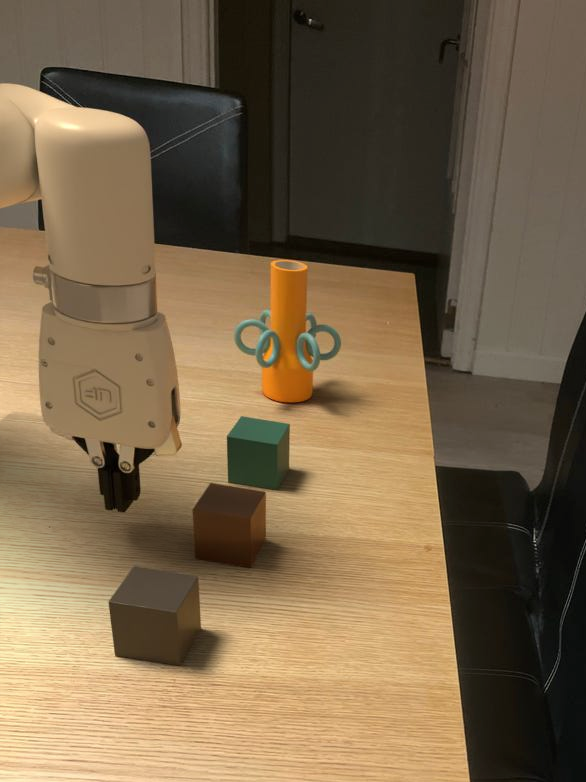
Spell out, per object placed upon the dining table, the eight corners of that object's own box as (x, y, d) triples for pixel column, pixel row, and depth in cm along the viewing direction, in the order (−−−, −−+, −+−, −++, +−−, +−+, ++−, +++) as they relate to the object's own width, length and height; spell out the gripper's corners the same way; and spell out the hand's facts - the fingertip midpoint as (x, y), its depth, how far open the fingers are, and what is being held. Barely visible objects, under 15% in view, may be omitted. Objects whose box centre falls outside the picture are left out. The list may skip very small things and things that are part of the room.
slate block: (180, 666, 71) (176, 612, 68) (114, 655, 71) (108, 601, 68) (201, 627, 75) (198, 575, 72) (139, 618, 75) (133, 565, 72)
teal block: (277, 490, 94) (277, 444, 91) (227, 482, 94) (226, 436, 91) (289, 468, 98) (289, 423, 95) (241, 460, 98) (241, 415, 95)
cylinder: (336, 379, 119) (341, 256, 110) (340, 414, 111) (347, 284, 102) (236, 373, 116) (234, 246, 107) (233, 408, 108) (230, 274, 99)
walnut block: (251, 568, 83) (250, 518, 80) (194, 559, 83) (192, 509, 80) (265, 539, 87) (265, 491, 84) (212, 530, 87) (210, 482, 84)
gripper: (-18, 290, 69) (16, 509, 79) (186, 328, 69) (191, 540, 80) (30, 263, 75) (55, 469, 85) (217, 298, 75) (218, 499, 86)
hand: (121, 503), depth 83 cm, fingers closed
